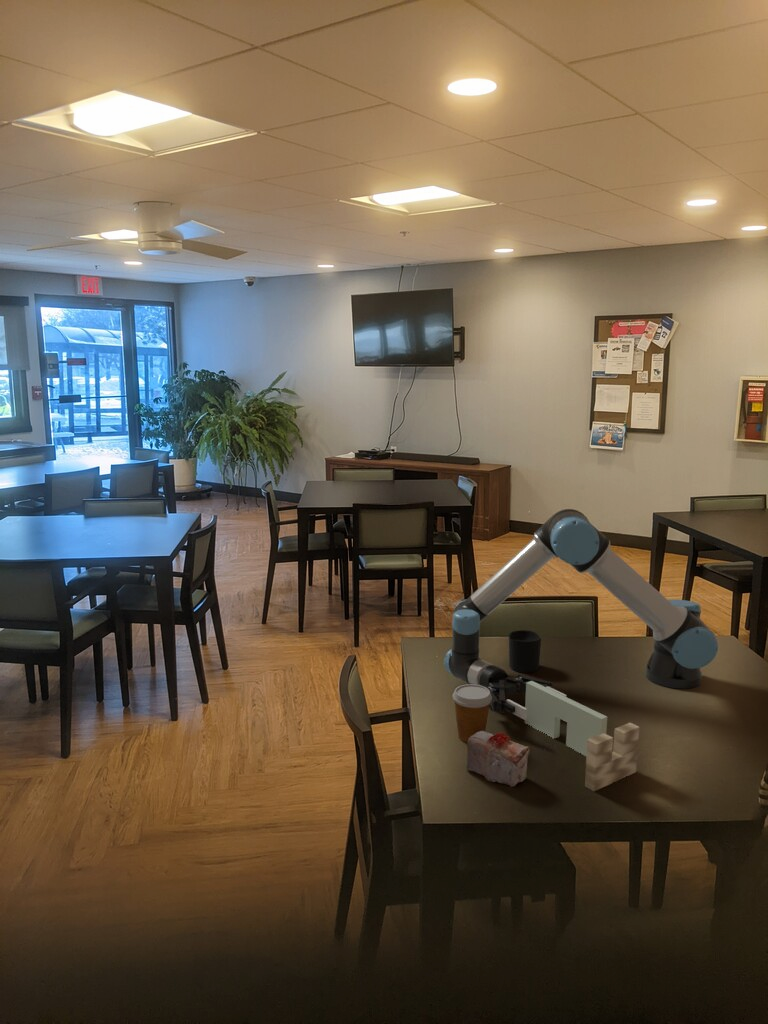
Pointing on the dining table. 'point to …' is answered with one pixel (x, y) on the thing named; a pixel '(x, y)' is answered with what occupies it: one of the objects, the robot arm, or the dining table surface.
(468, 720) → the disposable coffee cup
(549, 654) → the dining table surface
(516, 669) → the pen holder
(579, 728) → the sage slotted plate
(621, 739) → the birch slotted plate
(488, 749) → the food item
